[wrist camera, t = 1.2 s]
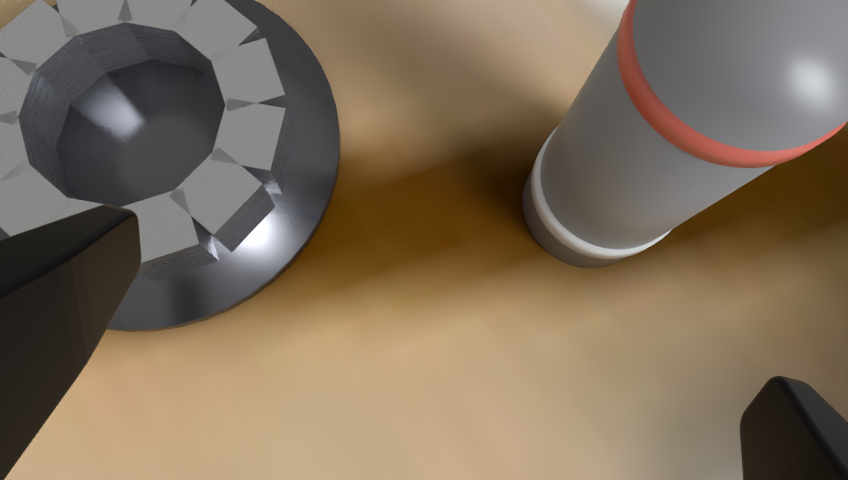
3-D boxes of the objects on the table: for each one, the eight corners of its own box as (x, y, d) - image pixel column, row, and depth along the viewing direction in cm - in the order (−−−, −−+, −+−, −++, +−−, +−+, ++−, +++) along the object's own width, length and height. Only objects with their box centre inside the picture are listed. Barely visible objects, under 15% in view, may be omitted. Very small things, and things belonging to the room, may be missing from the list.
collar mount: (414, 130, 25) (417, 93, 22) (153, 415, 22) (116, 417, 19) (157, -74, 27) (128, -134, 24) (-120, 164, 24) (-194, 129, 21)
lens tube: (678, 198, 25) (970, -10, 12) (601, 298, 24) (838, 181, 11) (572, 117, 26) (748, -159, 13) (492, 211, 24) (602, 9, 12)
